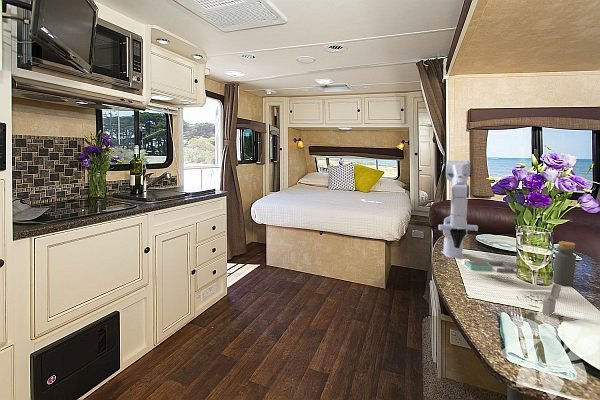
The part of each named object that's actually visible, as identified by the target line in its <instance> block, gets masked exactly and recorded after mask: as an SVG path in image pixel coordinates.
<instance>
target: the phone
mask: <svg viewBox="0 0 600 400" xmlns="http://www.w3.org/2000/svg"><path fill="white" fill-rule="evenodd" d="M466 266H467V267H468V268H469V269H470V270H487V271H492V266H491V265H490V264H489V263H488V262H487V261H486V262H485V261H470V262H466Z"/></svg>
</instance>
